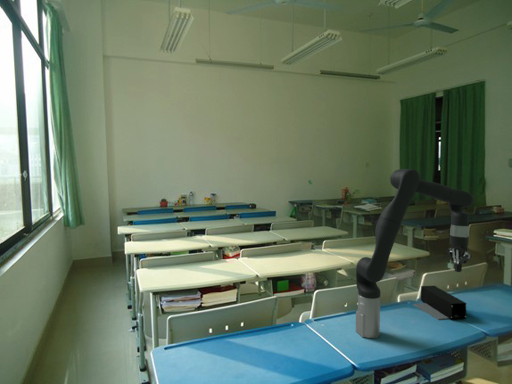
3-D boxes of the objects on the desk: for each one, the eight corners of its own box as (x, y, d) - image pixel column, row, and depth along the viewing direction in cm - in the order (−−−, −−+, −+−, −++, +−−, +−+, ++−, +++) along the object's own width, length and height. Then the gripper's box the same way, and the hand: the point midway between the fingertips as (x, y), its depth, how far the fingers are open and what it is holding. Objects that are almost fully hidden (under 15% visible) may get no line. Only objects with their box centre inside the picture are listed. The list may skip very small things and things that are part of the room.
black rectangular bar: (466, 303, 164) (431, 283, 192) (451, 303, 163) (417, 284, 191) (466, 319, 164) (430, 297, 192) (450, 319, 164) (417, 297, 191)
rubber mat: (438, 319, 164) (438, 318, 164) (413, 305, 183) (413, 304, 182) (460, 317, 167) (460, 316, 167) (433, 303, 185) (433, 302, 185)
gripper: (441, 232, 165) (440, 268, 166) (463, 237, 152) (462, 276, 153) (455, 232, 166) (453, 267, 168) (478, 237, 154) (476, 275, 155)
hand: (457, 271), depth 160 cm, fingers closed
